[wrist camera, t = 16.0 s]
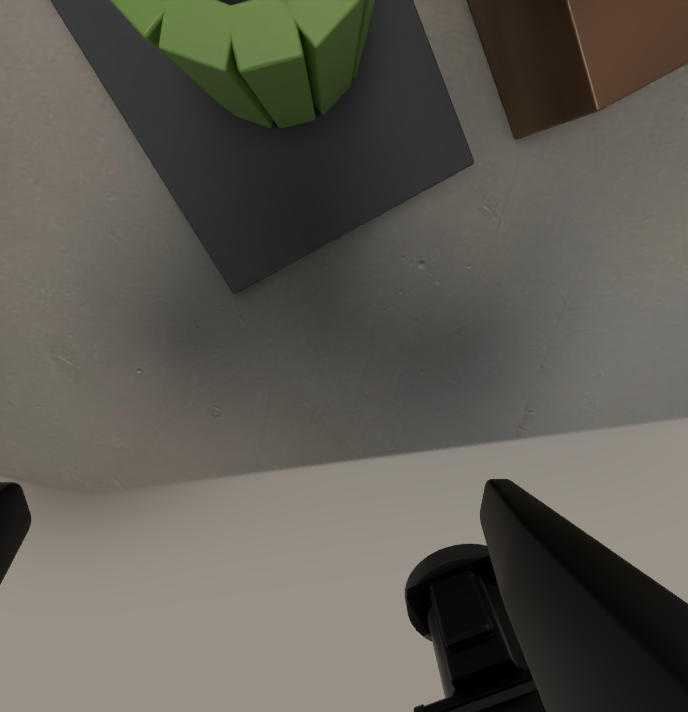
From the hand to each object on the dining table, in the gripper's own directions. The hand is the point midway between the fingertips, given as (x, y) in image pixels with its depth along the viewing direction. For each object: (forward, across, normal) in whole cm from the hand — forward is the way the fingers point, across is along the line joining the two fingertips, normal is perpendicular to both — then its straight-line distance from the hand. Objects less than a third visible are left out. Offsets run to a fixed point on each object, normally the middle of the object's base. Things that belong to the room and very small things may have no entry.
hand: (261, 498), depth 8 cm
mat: (+14, +1, -10) cm, 17 cm away
